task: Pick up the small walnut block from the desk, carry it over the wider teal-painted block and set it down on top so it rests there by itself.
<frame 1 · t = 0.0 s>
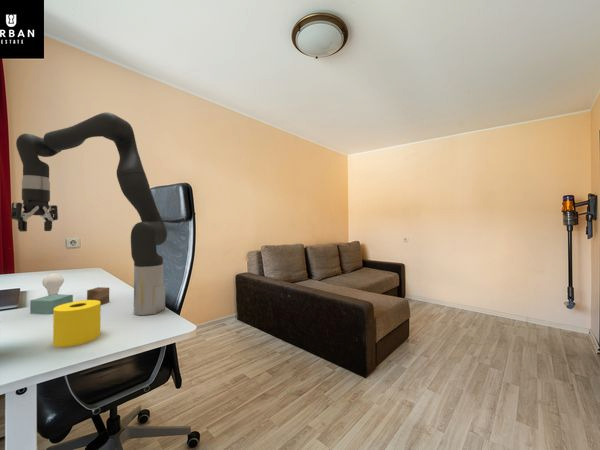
hand: (36, 231, 97), 29 cm above the table, fingers open, 8 cm apart
walnut block: (98, 303, 103), on the table
teal block: (52, 310, 95), on the table
yellow holed block: (77, 339, 72), on the table
light bulb: (53, 299, 109), on the table
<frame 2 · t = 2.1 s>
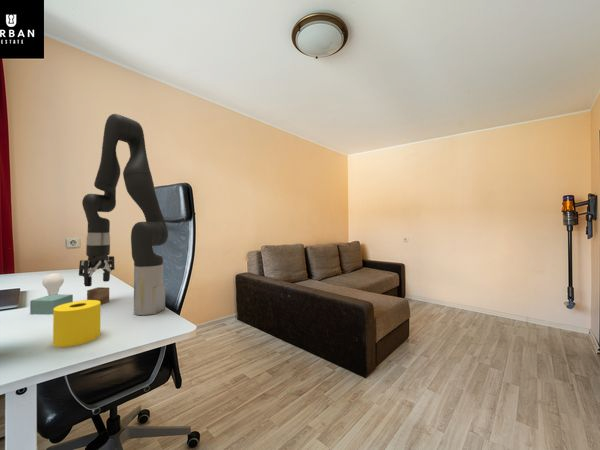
hand: (97, 283, 103), 8 cm above the table, fingers open, 8 cm apart
nothing on the table moved.
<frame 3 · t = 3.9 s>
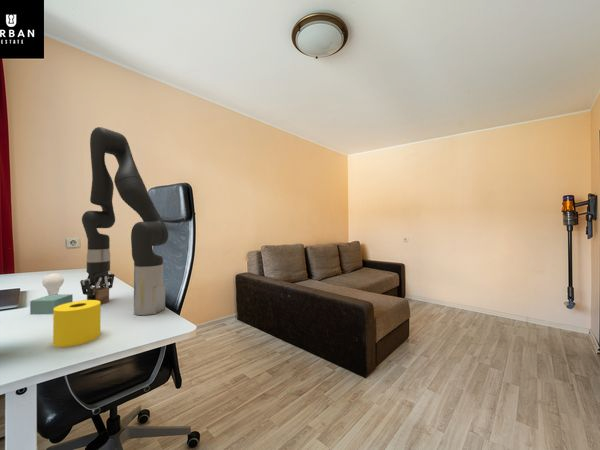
hand: (98, 301, 103), 1 cm above the table, fingers closed on walnut block, 5 cm apart
walnut block: (98, 303, 103), on the table, touching gripper
everything else where it was.
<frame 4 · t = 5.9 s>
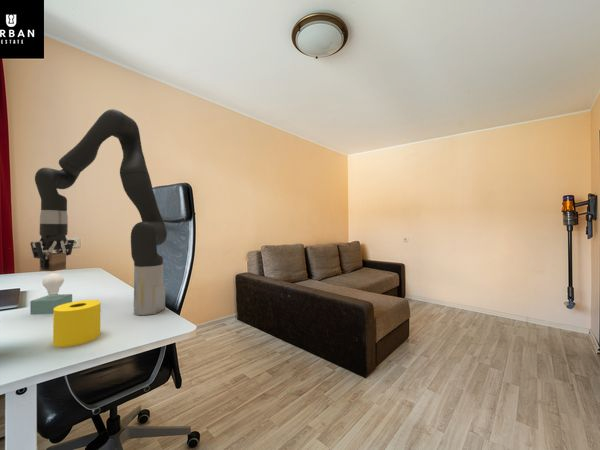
hand: (53, 268, 95), 16 cm above the table, fingers closed on walnut block, 5 cm apart
walnut block: (53, 269, 95), point 15 cm above the table, touching gripper
everything else where it was.
when the fingers open (7 cm above the table, at t = 8.3 s): walnut block drops 1 cm, resting on teal block.
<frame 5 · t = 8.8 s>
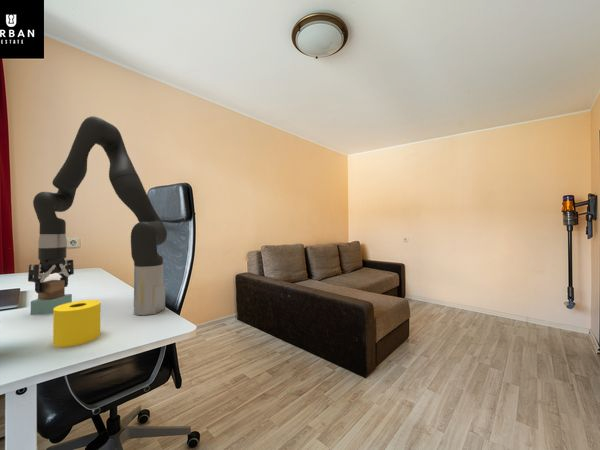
hand: (52, 289, 95), 8 cm above the table, fingers open, 8 cm apart
walnut block: (51, 297, 95), point 5 cm above the table, touching teal block
teal block: (52, 310, 95), on the table, touching walnut block
everything else where it was.
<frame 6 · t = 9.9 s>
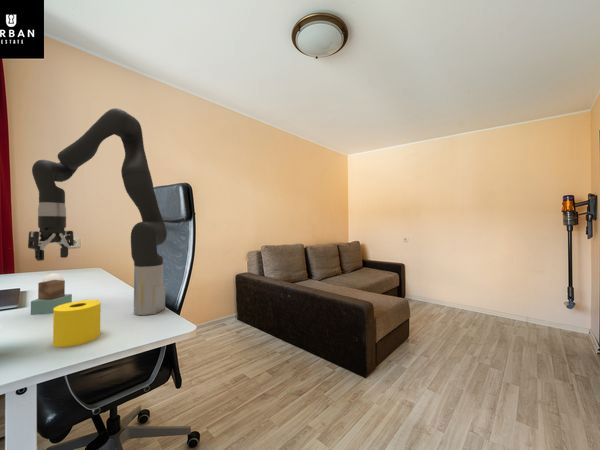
hand: (52, 258, 95), 19 cm above the table, fingers open, 8 cm apart
walnut block: (51, 297, 95), point 5 cm above the table
teal block: (52, 311, 95), on the table
everything else where it was.
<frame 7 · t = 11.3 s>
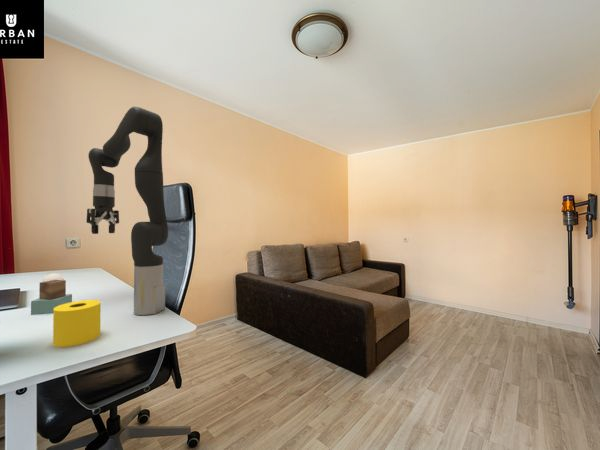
hand: (103, 233, 110), 28 cm above the table, fingers open, 8 cm apart
walnut block: (52, 297, 95), point 5 cm above the table, touching teal block
teal block: (52, 310, 95), on the table, touching walnut block
everything else where it was.
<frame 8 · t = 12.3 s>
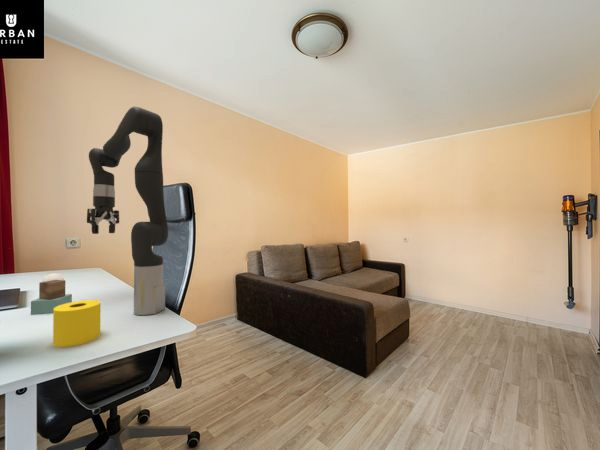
hand: (103, 233, 110), 28 cm above the table, fingers open, 8 cm apart
nothing on the table moved.
at the end: walnut block 0.3 cm off-centre on the teal block, point 5.0 cm above the teal block's base; walnut block tilted 0°; the gripper is holding nothing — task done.
